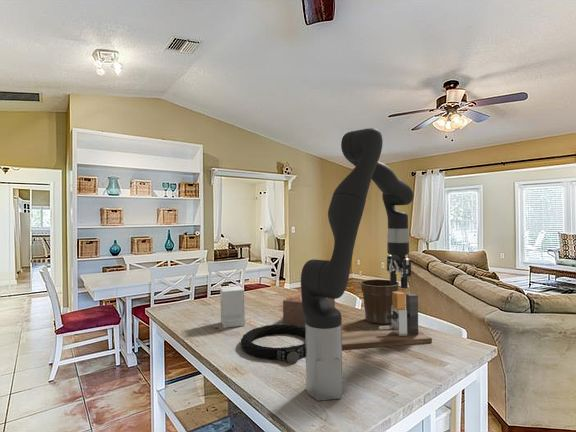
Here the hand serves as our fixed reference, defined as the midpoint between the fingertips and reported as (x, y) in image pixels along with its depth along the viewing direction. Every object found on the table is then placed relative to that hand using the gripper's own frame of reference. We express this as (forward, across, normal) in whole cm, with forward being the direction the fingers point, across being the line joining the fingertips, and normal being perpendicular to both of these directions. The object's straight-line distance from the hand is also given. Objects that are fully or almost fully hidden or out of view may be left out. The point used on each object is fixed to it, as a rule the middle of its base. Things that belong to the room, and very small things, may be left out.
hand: (398, 285), depth 125 cm
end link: (+17, 0, +3) cm, 17 cm away
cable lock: (+20, +1, +43) cm, 47 cm away
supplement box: (+19, +29, +60) cm, 69 cm away
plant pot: (+19, +22, -2) cm, 29 cm away
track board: (+19, 0, +8) cm, 21 cm away
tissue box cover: (+19, +32, +26) cm, 46 cm away
